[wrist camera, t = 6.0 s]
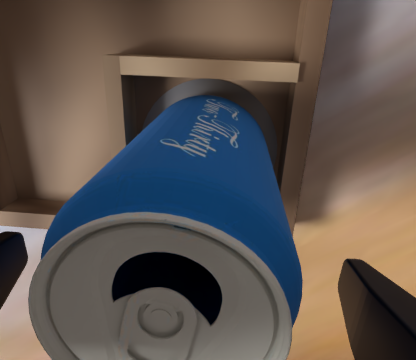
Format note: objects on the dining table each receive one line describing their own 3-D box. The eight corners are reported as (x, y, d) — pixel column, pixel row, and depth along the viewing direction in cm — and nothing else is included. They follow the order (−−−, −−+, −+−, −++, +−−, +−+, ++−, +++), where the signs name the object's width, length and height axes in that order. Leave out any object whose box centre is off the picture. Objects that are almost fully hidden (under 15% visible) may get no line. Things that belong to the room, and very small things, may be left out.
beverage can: (282, 110, 16) (373, 250, 5) (246, 214, 19) (258, 450, 8) (161, 78, 16) (2, 154, 5) (142, 187, 19) (9, 390, 8)
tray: (14, 204, 21) (-17, 227, 19) (-46, -46, 16) (-102, -63, 13) (284, 225, 20) (291, 251, 18) (325, -37, 14) (344, -55, 12)
